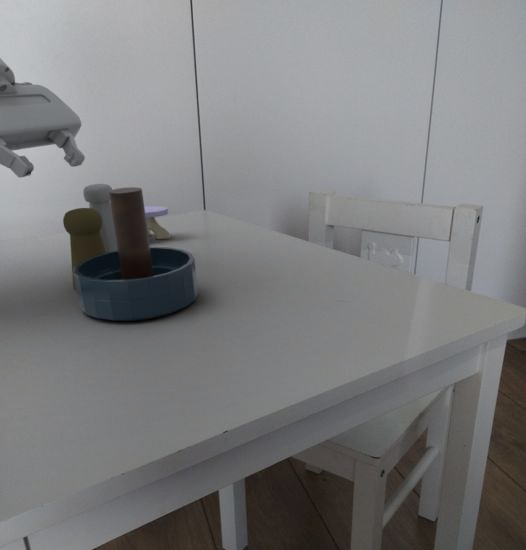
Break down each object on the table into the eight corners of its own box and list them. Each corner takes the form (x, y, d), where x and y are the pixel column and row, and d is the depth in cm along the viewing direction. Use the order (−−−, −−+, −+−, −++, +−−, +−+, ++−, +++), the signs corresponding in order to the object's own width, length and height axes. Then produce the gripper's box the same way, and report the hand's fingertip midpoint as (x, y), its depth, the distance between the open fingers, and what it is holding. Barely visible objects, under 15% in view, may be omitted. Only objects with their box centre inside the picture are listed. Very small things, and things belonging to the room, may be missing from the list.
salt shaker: (84, 273, 89) (68, 188, 84) (104, 262, 94) (90, 181, 89) (117, 274, 88) (103, 188, 82) (135, 264, 93) (123, 181, 87)
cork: (66, 285, 84) (51, 210, 79) (104, 275, 88) (91, 203, 83) (83, 294, 80) (68, 215, 75) (122, 284, 83) (110, 208, 79)
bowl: (63, 325, 69) (54, 282, 67) (102, 285, 83) (96, 248, 81) (186, 323, 68) (181, 279, 66) (205, 282, 82) (202, 245, 80)
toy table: (111, 246, 104) (106, 214, 101) (128, 234, 112) (123, 204, 109) (163, 245, 102) (159, 213, 100) (176, 233, 110) (173, 203, 108)
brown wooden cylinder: (122, 303, 74) (104, 193, 68) (130, 293, 78) (114, 187, 72) (152, 303, 74) (137, 192, 68) (159, 292, 77) (145, 186, 71)
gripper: (26, 101, 81) (95, 173, 81) (-105, 108, 64) (-18, 200, 64) (45, 64, 77) (116, 140, 78) (-89, 61, 60) (3, 158, 61)
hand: (55, 167), depth 71 cm, fingers open, 8 cm apart
